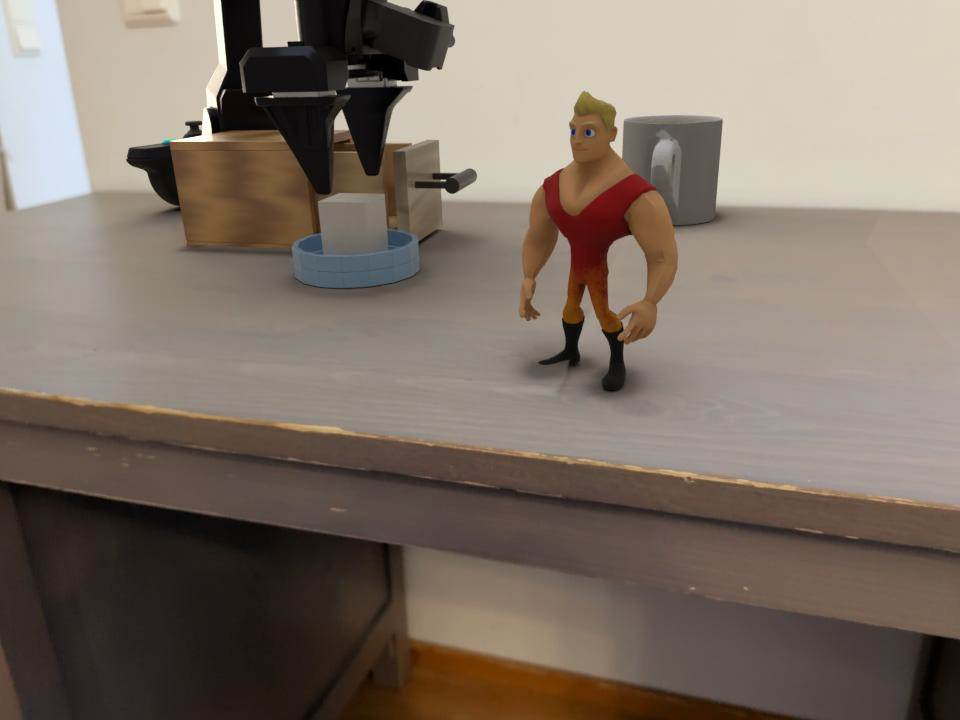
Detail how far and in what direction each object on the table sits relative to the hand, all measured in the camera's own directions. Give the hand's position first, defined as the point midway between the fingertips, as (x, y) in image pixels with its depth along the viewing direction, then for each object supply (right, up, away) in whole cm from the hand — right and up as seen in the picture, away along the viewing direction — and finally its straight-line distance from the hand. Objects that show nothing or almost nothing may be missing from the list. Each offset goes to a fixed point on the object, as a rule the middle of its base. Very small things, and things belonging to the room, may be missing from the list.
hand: (350, 184), depth 61 cm
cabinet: (-10, -2, +17) cm, 20 cm away
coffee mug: (+29, +1, +21) cm, 36 cm away
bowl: (0, -7, +3) cm, 8 cm away
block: (0, -7, +2) cm, 7 cm away
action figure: (+16, -15, -18) cm, 28 cm away
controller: (-27, +5, +36) cm, 45 cm away
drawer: (+1, -2, +14) cm, 14 cm away
